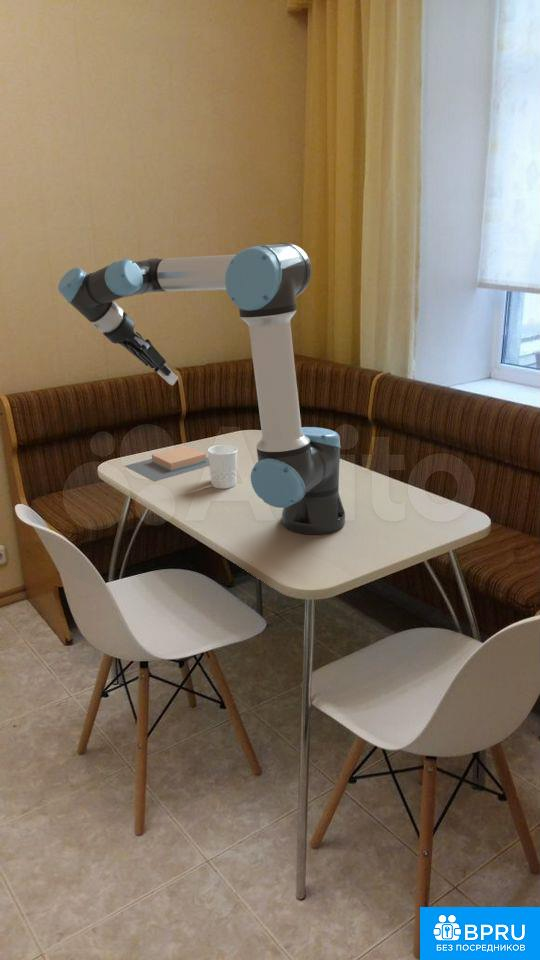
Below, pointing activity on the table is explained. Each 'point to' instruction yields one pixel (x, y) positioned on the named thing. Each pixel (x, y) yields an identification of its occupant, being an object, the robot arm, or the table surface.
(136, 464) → the mat
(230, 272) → the robot arm
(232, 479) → the white cup
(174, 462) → the tile
